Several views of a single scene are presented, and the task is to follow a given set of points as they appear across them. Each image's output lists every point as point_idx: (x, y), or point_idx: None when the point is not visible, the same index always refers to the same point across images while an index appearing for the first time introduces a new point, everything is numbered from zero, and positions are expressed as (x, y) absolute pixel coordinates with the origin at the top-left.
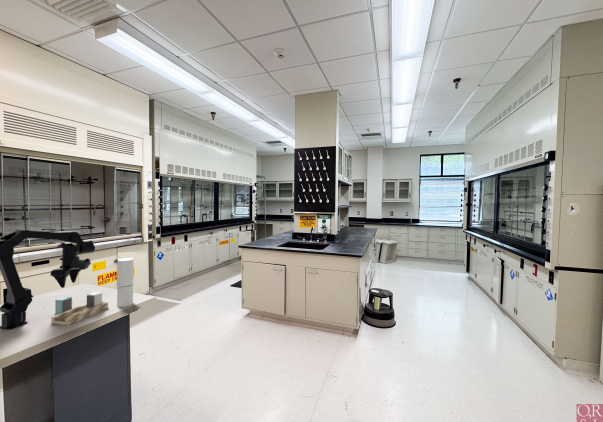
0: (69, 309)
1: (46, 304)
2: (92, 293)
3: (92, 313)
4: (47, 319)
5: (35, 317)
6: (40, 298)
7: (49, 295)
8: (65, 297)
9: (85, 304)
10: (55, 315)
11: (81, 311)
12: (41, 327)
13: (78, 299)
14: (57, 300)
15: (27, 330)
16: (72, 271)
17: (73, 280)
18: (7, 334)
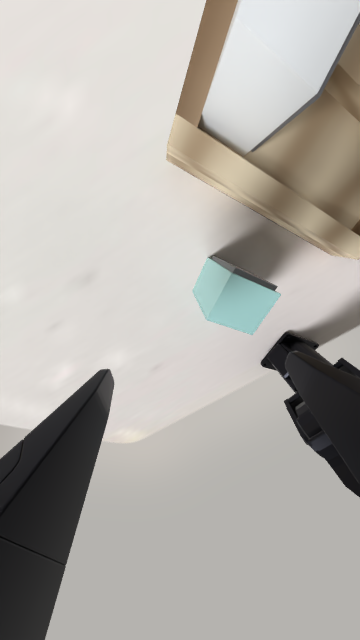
0: (223, 260)
1: (130, 378)
2: (304, 11)
3: None
4: None
5: (243, 339)
6: None
7: None
8: (228, 307)
9: (235, 170)
10: (348, 252)
11: (293, 161)
12: (351, 268)
13: (67, 310)
14: (258, 321)
15: (351, 296)
16: (7, 631)
17: (104, 394)
18: (348, 328)
